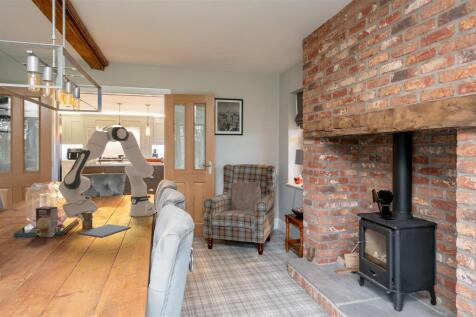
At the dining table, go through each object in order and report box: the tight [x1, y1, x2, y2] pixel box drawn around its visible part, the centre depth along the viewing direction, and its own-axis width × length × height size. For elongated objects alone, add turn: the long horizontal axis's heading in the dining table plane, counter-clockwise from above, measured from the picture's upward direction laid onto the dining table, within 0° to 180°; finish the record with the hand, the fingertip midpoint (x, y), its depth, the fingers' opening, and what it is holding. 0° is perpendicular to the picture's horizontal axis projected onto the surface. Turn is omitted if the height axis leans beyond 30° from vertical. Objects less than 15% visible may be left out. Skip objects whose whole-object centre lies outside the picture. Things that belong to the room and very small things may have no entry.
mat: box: [78, 223, 131, 238], centre depth 182 cm, size 22×18×1 cm
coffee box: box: [35, 206, 59, 238], centre depth 172 cm, size 9×6×16 cm
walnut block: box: [81, 212, 94, 231], centre depth 187 cm, size 4×4×10 cm
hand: (88, 219), depth 187 cm, fingers closed on walnut block, 4 cm apart
